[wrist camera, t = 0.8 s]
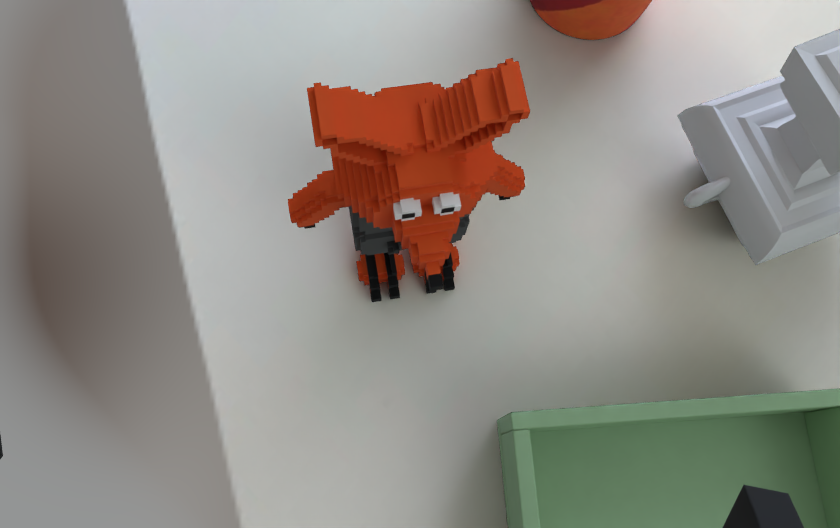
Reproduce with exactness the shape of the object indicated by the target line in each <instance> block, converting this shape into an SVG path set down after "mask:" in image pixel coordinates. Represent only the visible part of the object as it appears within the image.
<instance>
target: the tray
mask: <svg viewBox="0 0 840 528" xmlns="http://www.w3.org/2000/svg"><path fill="white" fill-rule="evenodd" d="M497 424H498V434H499V444H500V454H501V464H502V474H503V484H504V494H505V504H506V514H507V524H508V528H723V526H724V524H725V522H726V519H727V517H728V515H729V513H730V511H731V509H732V507H733V505H734V503H735V501H736V499H737V497H738V495H739V493H740V491H741V489H742V487H743V485H748V486H753V487H758V488H763V489H769V490H774V491H779V492H784V493H788V494H789V496H790V498H791V500H792V502H793V505H794V507H795V509H796V511H797V513H798V515H799V518H800V520H801V522H802V524H803V526H804V528H840V389H827V390H813V391H799V392H785V393H771V394H757V395H743V396H729V397H715V398H701V399H687V400H674V401H660V402H646V403H632V404H618V405H604V406H590V407H576V408H562V409H548V410H534V411H520V412H511V413H509V414H507V415H505V416H504V417H502V418H500V419H498V420H497Z"/></svg>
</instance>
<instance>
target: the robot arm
mask: <svg viewBox="0 0 840 528" xmlns="http://www.w3.org/2000/svg"><path fill="white" fill-rule="evenodd" d="M2 456H3V453H2V445H1V436H0V459H1V458H2ZM723 528H804V526H803V524H802V522H801V520H800V518H799V515H798V513H797V511H796V509H795V507H794V505H793V502H792V500H791V498H790V496H789V494H788V493H784V492H779V491H774V490H769V489H763V488H758V487H753V486H748V485H743V487H742V489H741V491H740V493H739V495H738V497H737V499H736V501H735V503H734V505H733V507H732V509H731V511H730V513H729V515H728V517H727V519H726V522H725V524H724V526H723Z"/></svg>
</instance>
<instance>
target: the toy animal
mask: <svg viewBox="0 0 840 528" xmlns="http://www.w3.org/2000/svg"><path fill="white" fill-rule="evenodd" d="M307 92H308V99H309V106H310V112H311V119H312V126H313V133H314V140H315V145H316V147H319V146H323V149H327V148H330V149H331V156H332V162H333V169H334V170H330V171H323V172H322V174H318V175H317V179H315V180H312V182H309V183H307V187H304V188H303V189H302V190H298V193H293V199H288V206H289V213H290V218H291V222H292V223H296V222H297V226H298V227H299V228H300V227H304V228H312V227H315V223H319V221H320V220H324V218H328V217H329V215H335V214H334V211H335V210H339V208H342V207H349V211H350V217H351V224H352V230H353V236H354V243H355V249H356V251H358V250H361V254H362V255H360V259H361V261H356V263H357V269H358V276H359V281H364V284H365V285H369V286H370V293H371V299H372V302H376V301H381V294H380V285H379V283H382V282H388V288H389V294H390V299H395V298H400V294H399V288H398V280H401V275H404V274H405V268H404V261H403V257H402V255H398V253H399V250H403V249H407V248H408V250H409V254H410V258H411V264H412V265H413V271H414V273H419V277H421V276H424V281H425V286H426V292H427V294H428V293H434V292H436V290H438V289H442V288H443V283H444V289H445V291H447V290H453V289H454V288H455V286H454V280H453V277H454V273H453V271H455V270H456V267H457V266H459V264H460V263H459V254H458V249H457V248H456V246H455V247H453V244H452V243H454V242H456V241H458V240H461V238H462V235H465V233H466V230H467V227H468V224H469V214H471V211H472V210H474V207H476V204H477V201H480V200H481V197H482V194H485V193H488V192H490V193H491V194H494V193H495V195H499V200H505V199H510V197H514V196H518V195H520V193H521V190H523V189H524V187H525V183H524V180H525V176H524V172H523V169H521V166H520V167H517V165H515V162H513V163H511V161H509V160H506V159H505V158H503V156H501V154H500V155H498V154H496V153H495V151H494V150H493V146H492V142H491V141H494V138H496V137H501V136H502V134H505V133H509V132H510V129H511V126H512V124H513V123H519V122H520V120H521V119H527V118H528V116H529V114H530V109H529V104H528V100H527V96H526V91H525V87H524V83H523V79H522V74H521V70H520V66H519V62H518V61H516V62H514V61H513V58H511V59H506V60H505V63H500V64H498V65H497V68H489V69H481V70H476V73H475V74H470V75H468V78H466V79H461V81H460V83H454V84H453V87H449V88H446V89H444V87H441V84H434V85H433V83H432V82H429V83H421V84H413V85H406V86H398V87H390V88H382V89H381V91H380V92H376V93H375V96H372V94H369V95H366V94H365V92H358V89H353V90H351V87H350V86H348V87H340V88H332V89H329V85H327V86H321V83H314V87H311V88H307ZM441 273H442V276H441ZM442 278H443V281H442Z"/></svg>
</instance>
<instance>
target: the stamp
mask: <svg viewBox="0 0 840 528" xmlns="http://www.w3.org/2000/svg"><path fill="white" fill-rule="evenodd" d="M780 72H781V74H782V75H783V76H780V77H777V78H774V79H771V80H768V81H765V82H763V83H760V84H757V85H754V86H751V87H748V88H745V89H743V90H740V91H737V92H734V93H731V94H728V95H725V96H722V97H720V98H717V99H714V100H711V101H708V102H705V103H702V104H700V105H697V106H694V107H691V108H688V109H685V110H684V111H683V112H682V113H680V114H679V115H677V116H678V118H679V120H680V122H681V125H682V128H683V130H684V132H685V133H686V135H687V137H688V139H689V141H690V143H691V145H692V147H693V151H694V154H695V156H696V158H697V160H698V162H699V164H700V166H701V168H702V170H703V172H704V173H705V175H706V177H707V179H708V181H709V183H707V184H705V185H703V186H700V187H698V188H696V189H694V190H692V191H691V192H689V193H688V194H687V196H686V197H685V198H684V205H685V206H686V207H689V208H694V207H698V206H700V205H703V204H705V203H708V202H712V201H716V200H719V202H720V204H721V206H722V208H723V210H724V212H725V214H726V215H727V217H728V219H729V221H730V223H731V225H732V227H733V229H734V231H735V233H736V235H737V237H738V238H739V240H740V242H741V244H742V245H743V246H744V247H745V248H746V250H747V252H748V254H749V256H750V258H751V259H752V260H753V261H754V263H755V265H757V264H760V263H762V262H765V261H767V260H770V259H773V258H775V257H778V256H780V255H783V254H785V253H788V252H790V251H793V250H796V249H798V248H801V247H803V246H806V245H808V244H811V243H814V242H816V241H819V240H821V239H824V238H826V237H829V236H832V235H834V234H837V233H839V232H840V29H838V30H836V31H833V32H831V33H828V34H826V35H823V36H820V37H818V38H815V39H813V40H810V41H808V42H805V43H803V44H800V45H797V46H795V47H794V48H793V50H792V52H791V53H790V55H789V57H788V58H787V60H786V62H785V63H784V65H783V67H782V69H781V70H780Z"/></svg>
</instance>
